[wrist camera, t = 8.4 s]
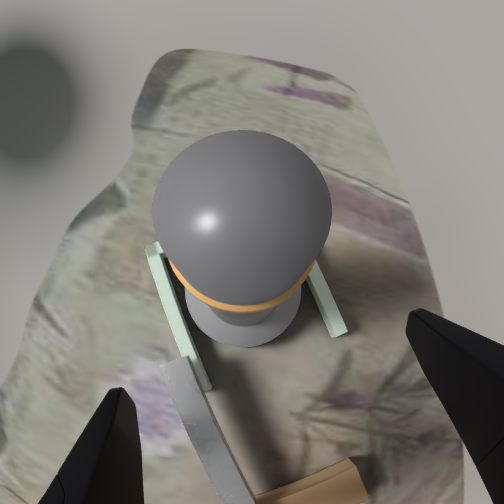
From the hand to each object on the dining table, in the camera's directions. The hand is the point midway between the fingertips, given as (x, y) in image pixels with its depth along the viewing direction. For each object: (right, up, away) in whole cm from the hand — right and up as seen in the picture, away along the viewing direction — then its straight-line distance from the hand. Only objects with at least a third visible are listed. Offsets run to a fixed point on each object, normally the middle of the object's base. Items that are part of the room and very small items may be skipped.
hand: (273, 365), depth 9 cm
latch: (-2, -9, +6) cm, 11 cm away
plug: (-1, +1, +11) cm, 11 cm away
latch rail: (+2, -13, +7) cm, 15 cm away
